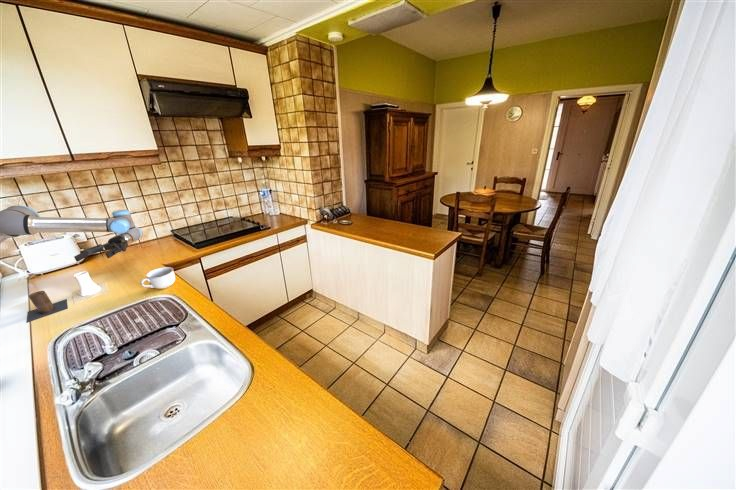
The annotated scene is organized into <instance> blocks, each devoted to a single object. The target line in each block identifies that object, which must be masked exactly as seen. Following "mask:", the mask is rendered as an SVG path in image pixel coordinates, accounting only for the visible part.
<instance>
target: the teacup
mask: <svg viewBox="0 0 736 490" xmlns="http://www.w3.org/2000/svg"><path fill="white" fill-rule="evenodd" d="M176 279H177V278H176V274H175V271H174V268H173V267H171V266H162V267H158V268H155V269H152V270H150V271H149V272H147V273H146V277H145V278H142V279H141V280H140V285H141V287H144V288H150V289H153V288H154V289H157V290H164V289H168V288H170V287H171V286H172V285H173V284H174V283H175V282H176ZM145 281H147V282H148V283H149V284H144V283H145Z"/></svg>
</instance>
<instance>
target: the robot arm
mask: <svg viewBox="0 0 736 490" xmlns="http://www.w3.org/2000/svg"><path fill="white" fill-rule="evenodd" d="M38 233H39V234H40V233H113V234H116V235H115V236H113V237H111V238H108V241H107V242H106V243H104V244H102V243H99V244H96V245H94V246H91V247H89V248H86V249H82V250H79V254H76V255H74V256H73V258H74V261H75V262H80V261H82V260H83V259H86V258H88V257H89V256H90V255H94V254H97V253H100V252H105V254H104V255H105V256H106V258H107V259H110V258H113V256H115V255H117V254H118V253H122V252H126V251H127V247H129V246H130V245H131V244H132V243H135V242H136V241H138V240H139V239H141V238H142V236H143V231H142V229H140V228H139V227H137V226H136V225H135V223H134V220H133V218H132V214H131V213H130V211H129V210H128V209H118V210H115V211H112V217H109V218H108V217H65V216H64V217H63V216H61V217H59V216H58V217H57V216H56V217H54V216H53V217H52V216H40V214H39V212H38V211H36V210H35V209H34V208H32V207H30V206H26V205H18V204H17V205H11V206H8V207H6V208H4V209H2V210H0V244H2V243H3V242H5V241H6V240H8V239H10V238H18V237H19V236H34V235H36V234H38Z"/></svg>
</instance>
